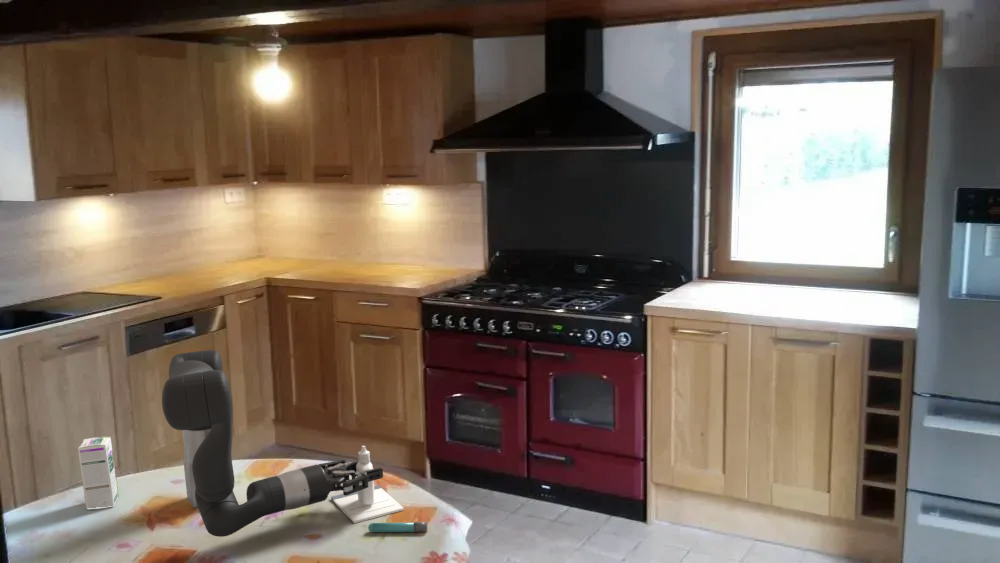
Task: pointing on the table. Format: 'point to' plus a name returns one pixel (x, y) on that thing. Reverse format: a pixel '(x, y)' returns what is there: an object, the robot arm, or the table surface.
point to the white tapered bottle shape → (368, 493)
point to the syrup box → (98, 472)
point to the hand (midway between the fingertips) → (375, 468)
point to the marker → (398, 527)
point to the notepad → (367, 505)
